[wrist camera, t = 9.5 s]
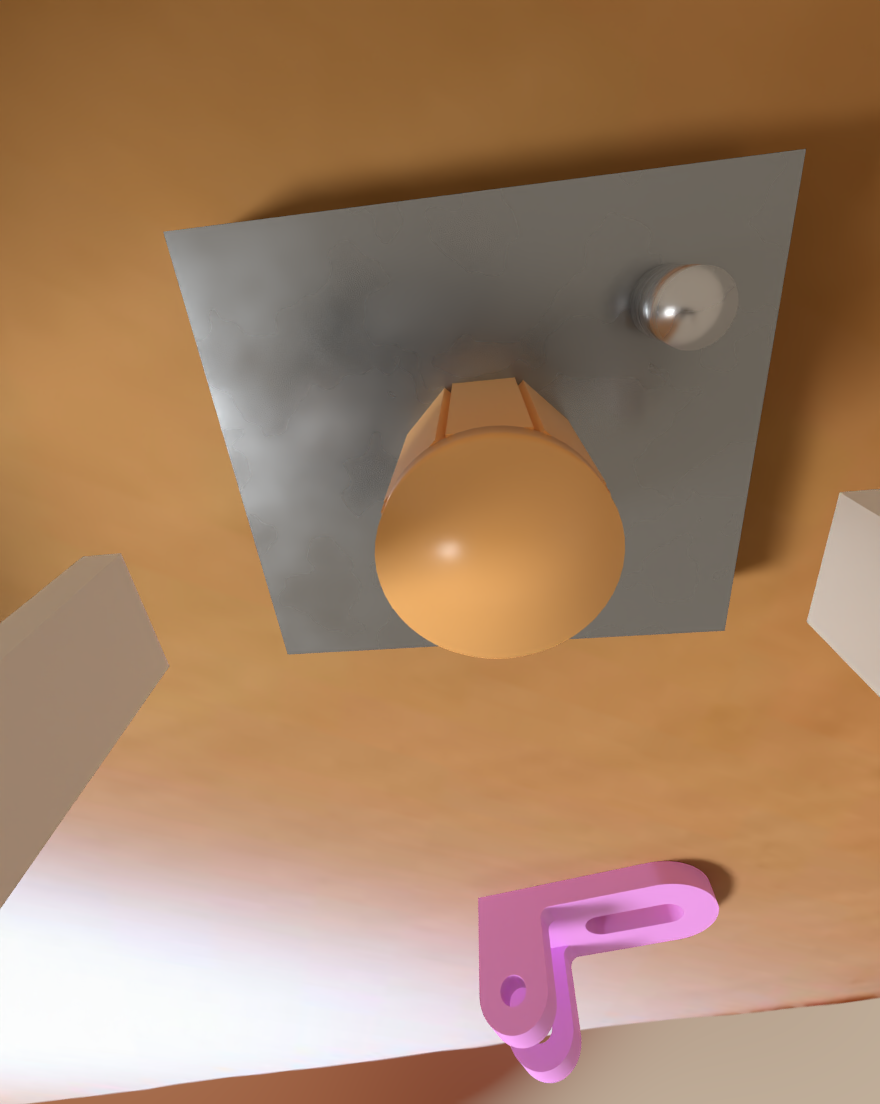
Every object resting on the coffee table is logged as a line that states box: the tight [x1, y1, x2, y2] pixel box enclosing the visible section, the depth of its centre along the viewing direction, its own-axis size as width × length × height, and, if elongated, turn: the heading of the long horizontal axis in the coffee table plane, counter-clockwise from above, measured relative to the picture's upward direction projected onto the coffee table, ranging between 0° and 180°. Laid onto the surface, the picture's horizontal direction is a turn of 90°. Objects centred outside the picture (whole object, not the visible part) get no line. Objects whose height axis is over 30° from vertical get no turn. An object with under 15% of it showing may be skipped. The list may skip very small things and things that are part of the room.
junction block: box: [164, 149, 806, 654], centre depth 16 cm, size 16×14×7 cm
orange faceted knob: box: [375, 377, 625, 659], centre depth 14 cm, size 5×5×6 cm
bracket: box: [478, 861, 719, 1083], centre depth 30 cm, size 13×6×7 cm, turn 114°
